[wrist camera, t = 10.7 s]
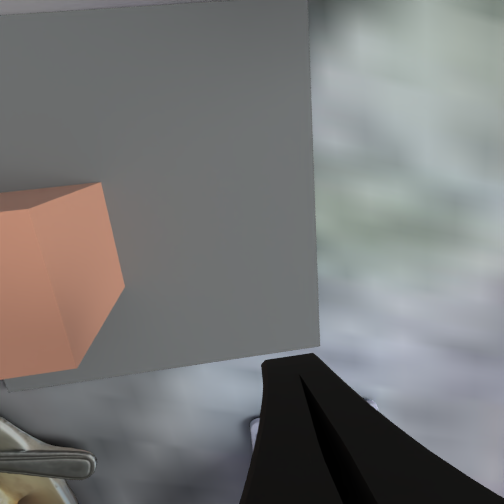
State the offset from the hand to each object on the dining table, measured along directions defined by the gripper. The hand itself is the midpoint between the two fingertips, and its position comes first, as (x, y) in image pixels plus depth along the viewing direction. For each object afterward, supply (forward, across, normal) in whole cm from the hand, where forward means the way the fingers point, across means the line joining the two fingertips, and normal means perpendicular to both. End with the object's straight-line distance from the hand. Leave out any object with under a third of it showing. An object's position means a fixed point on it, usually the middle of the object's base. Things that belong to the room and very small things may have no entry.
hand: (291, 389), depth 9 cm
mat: (+10, +5, -3) cm, 11 cm away
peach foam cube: (+10, +9, -2) cm, 13 cm away
